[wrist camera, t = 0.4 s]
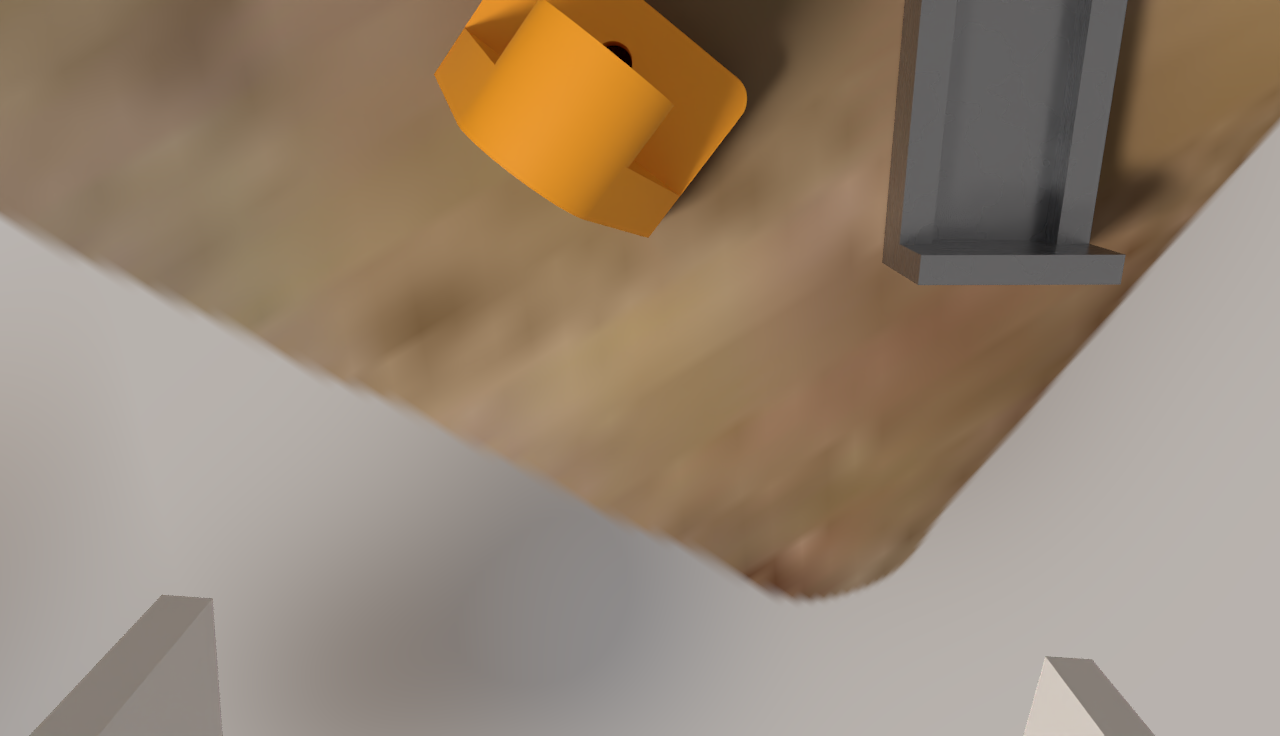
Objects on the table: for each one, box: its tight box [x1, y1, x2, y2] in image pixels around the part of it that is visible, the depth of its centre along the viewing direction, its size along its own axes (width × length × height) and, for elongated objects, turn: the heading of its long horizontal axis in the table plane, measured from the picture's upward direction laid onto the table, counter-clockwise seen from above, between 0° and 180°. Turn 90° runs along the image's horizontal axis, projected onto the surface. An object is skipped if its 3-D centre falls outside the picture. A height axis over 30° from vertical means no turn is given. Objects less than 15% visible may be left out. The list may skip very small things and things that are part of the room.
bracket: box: [434, 0, 747, 238], centre depth 31 cm, size 11×7×12 cm, turn 53°
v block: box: [882, 0, 1128, 285], centre depth 34 cm, size 17×8×5 cm, turn 0°
